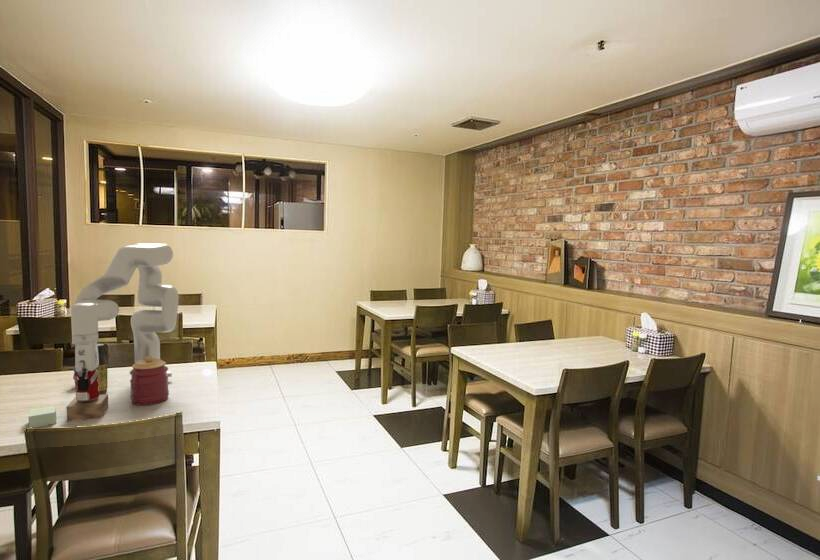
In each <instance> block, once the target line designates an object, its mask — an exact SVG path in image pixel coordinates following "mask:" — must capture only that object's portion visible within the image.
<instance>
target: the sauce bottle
mask: <svg viewBox="0 0 820 560" xmlns="http://www.w3.org/2000/svg"><path fill="white" fill-rule="evenodd" d="M97 347H98V357H99V365H98V366H97V368H96V369H97V371H98V383H99V395H103V394H107V392H108V361H107V358H106V356H105V352H104V350H105V344H104V343H97Z"/></svg>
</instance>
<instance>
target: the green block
mask: <svg viewBox="0 0 820 560" xmlns="http://www.w3.org/2000/svg"><path fill="white" fill-rule="evenodd" d="M27 417H28V428H29V429H31V428H30V427H34V428H39V427H40V428H41V427H44V426H43V425H45V426H49V425H48V424H51V425H57V406H56V405H53V406H47V407H46V406H45V407H40V408H33V409H29V411H28V416H27Z"/></svg>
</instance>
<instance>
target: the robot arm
mask: <svg viewBox="0 0 820 560" xmlns="http://www.w3.org/2000/svg"><path fill="white" fill-rule="evenodd" d="M173 257H174V251H173V249H172V247H171V246H170V245H168V244H167V243H149V242H148V243H141V242H140V243H134V244H132V245H125V246H120V248H119V249H117V252H116V253H115V255H114V257H113V258H112V260H111V262H110V264H109V265H108V267H107V269H106V271H105V272H104V273H103V275H101V276H99V277H98V278H96V279H94V280H93V281H91V282H89V284H87V285H86V286H84V287H83V289H81V291H80V292H79V293H78V296H77V297H76V299H75V301H74V303H73V304H72V305H71V307H70V319H71V321H70V322H71V343H72V345H75V348H74V349H75V351H74V355H75V356H74V359H75V361H74V362H75V363H74V364H75V365H74V367H75V366H76V372H77V373H78V374H77V384H78V391H85V390H89V378H88V372H89V371H90V372H92V371H93V370H95V369H96V368H97V366H98V365H99V357H98V347H97V344H98V342H99V341H100V340H99V322H104V321H105V322H106V321H111V320H113V319H115V318H116V317H117V316H118V314H119V312H120V306H119V305H118V304H117V302H115V301H113V300H110V299H98V298H100V297H101V296H103V295H104V294H107V293H110V292H112V291H116V290H118V289H121V288H124V287H126V286H128V284H129V283H130V281H131V279H132V277H133V274H134V273H135V272H136V269H137V270H138V275H139V277H138V289H137V303H138V305H141V306H142V307H147V308H152V307H153V308H161V310H160V309H139V310H137V311H134V312H133V313H132V314H131V317H130V326H131V330H132V333H133V344H134V347H133V348H134V351H133V352H134V364H135V363H136V362H137V361H140V360H144V359H145V357H146V356H148V355H151V356H152V357H153V358H156V359H161V342H160V338H159V336H158V334H157V333H159V334H160V333H162V334H164V333H166V334H167V333H171V332H172V331H174V330H175V328H176V325H177V322H178V321H177V320H178V311H179V310H178V308H179V293H178V290H177V288H176V287H175V286H173V285H169V284H162V281H163V280H162V277H163V275H162V271H161V268H160V267H159V266H163V265H167V264H169V263H170V262H171V261H172V259H173ZM83 369H86V370H83ZM84 373H86V374H84ZM167 375H168V378H171V377H172V376H173V373H172V371H167Z"/></svg>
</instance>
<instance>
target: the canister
mask: <svg viewBox="0 0 820 560" xmlns="http://www.w3.org/2000/svg"><path fill="white" fill-rule="evenodd" d="M166 364H167V363H166V361H164V360H163V359H161V358H160V359H156V358H153V357H152V356H151V355H148V356H146V357H145V359H144V360H140V361H137V362H136V363H135V362H134V364H132V366H131V367H132V369H131V370H130V371H129V375H130V376H131V377H130V380H129V382H130V402H131V403H132V404H133V405H135V406H148V405H154V404H159V403H162V402H164V401H166V400H168V399H169V394H170V393H169V392H170V391H169V377H168V375H167V372H168V370H169V367H168V366H167V365H166Z"/></svg>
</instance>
